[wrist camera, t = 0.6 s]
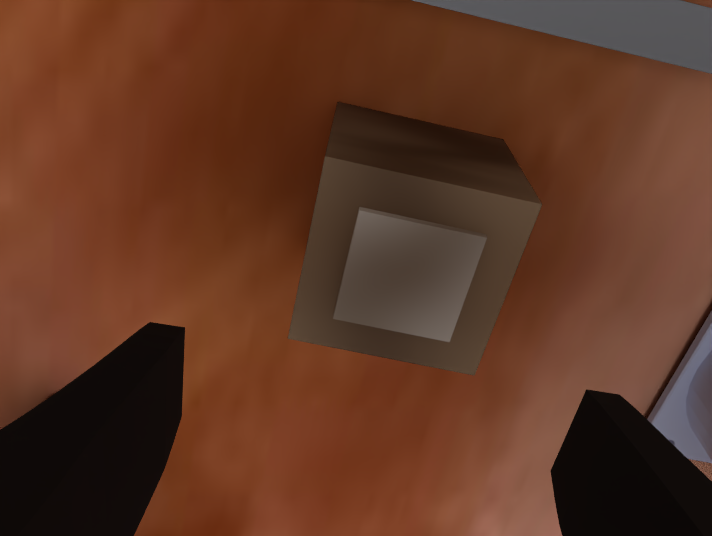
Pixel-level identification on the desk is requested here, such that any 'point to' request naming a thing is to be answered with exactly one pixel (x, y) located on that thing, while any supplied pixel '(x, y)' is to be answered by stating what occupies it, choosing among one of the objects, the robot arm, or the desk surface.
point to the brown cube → (411, 240)
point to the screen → (610, 24)
